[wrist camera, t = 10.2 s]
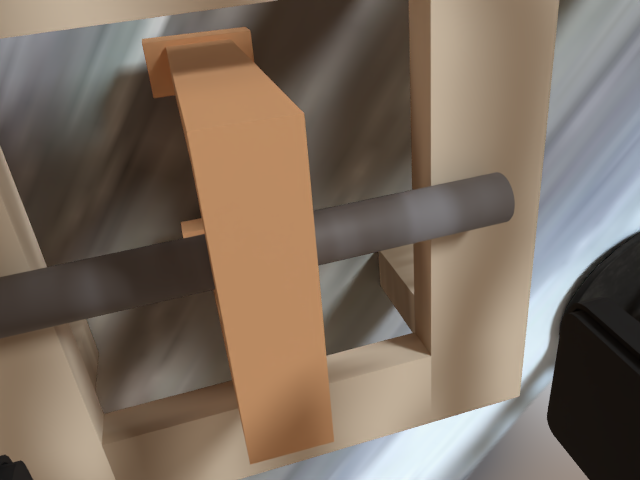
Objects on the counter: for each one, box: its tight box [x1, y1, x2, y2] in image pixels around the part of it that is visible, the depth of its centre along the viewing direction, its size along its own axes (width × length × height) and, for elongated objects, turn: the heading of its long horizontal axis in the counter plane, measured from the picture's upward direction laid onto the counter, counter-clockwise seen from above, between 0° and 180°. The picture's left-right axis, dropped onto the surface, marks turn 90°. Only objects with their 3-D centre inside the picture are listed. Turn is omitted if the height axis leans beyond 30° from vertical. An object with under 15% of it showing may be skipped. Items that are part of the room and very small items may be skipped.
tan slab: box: [142, 27, 334, 465], centre depth 19 cm, size 4×10×13 cm, turn 6°
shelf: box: [0, 0, 559, 480], centre depth 21 cm, size 20×20×12 cm
